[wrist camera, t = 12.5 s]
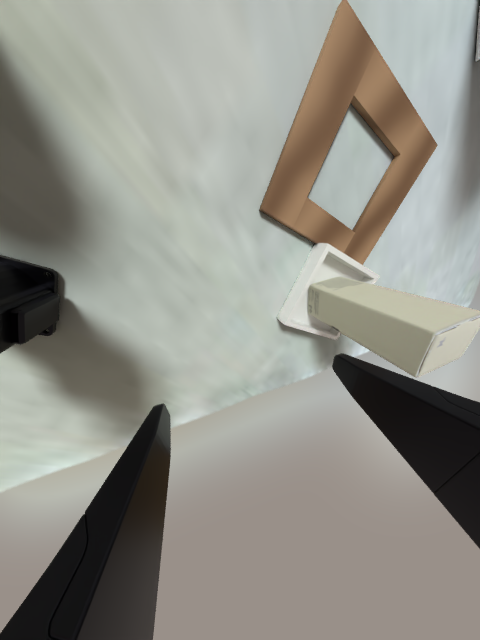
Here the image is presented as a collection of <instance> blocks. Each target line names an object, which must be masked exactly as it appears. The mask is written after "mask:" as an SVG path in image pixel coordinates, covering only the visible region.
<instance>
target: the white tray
mask: <svg viewBox="0 0 480 640" xmlns="http://www.w3.org/2000/svg"><path fill="white" fill-rule="evenodd" d="M335 277H344V278H348V279H352V280H356V281H360V282H365V283H369V284H373V285H374V284H375V283H376V281H377V280H378V278H379V277H380V276H379V275H377V274H376V273H374V272H373V271H371V270H370V269H368V268H366V267H365V266H363V265H362V264H360V263H358V262H357V261H355V260H354V259H352V258H350V257H349V256H347V255H346V254H344V253H342V252H341V251H339V250H338V249H336V248H334V247H333V246H331V245H330V244H328V243H318V244H314V246H313V248H312V250H311V252H310V254H309V256H308V258H307V260H306V262H305V264H304V266H303V267H302V269H301V271H300V273H299V275H298V277H297V279H296V281H295V283H294V285H293V287H292V289H291V291H290V293H289V295H288V297H287V299H286V301H285V302H284V304H283V306H282V308H281V310H280V312H279V314H278V316H277V319H278V320H280V321H281V322H282V323H283V324H284V325H287V326H290V327H293V328H297V329H300V330H304V331H307V332H310V333H314V334H317V335H321V336H324V337H327V338H331V339H334V340H337V339H338V338H339V336H340V335H341V333H340V332H339V331H337V330H335V329H334V328H332V327H330V326H329V325H327V324H325V323H323V322H322V321H320V320H319V319H317V318H315V317H313V316H312V315H310V314H309V313H308V296H309V286H310V285H311V284H313V283H317V282H320V281H324V280H327V279H331V278H335Z"/></svg>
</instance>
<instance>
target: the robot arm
mask: <svg viewBox="0 0 480 640" xmlns="http://www.w3.org/2000/svg"><path fill="white" fill-rule="evenodd" d="M46 272H48V273H50V274H51V277H49V276H47V274H46ZM57 287H58V274H57V273H56V271H54V270H53V269H50V268H47V267H43V266H39V265H36V264H32V263H28V262H25V261H21V260H17V259H14V258H10V257H6V256H2V255H0V353H2V352H3V351H5V350H6V349H8V348H10V347H11V346H13V345H14V344H19V345H21V344H24V343H26V342H27V341H29V340H30V339H32V338H33V337H35V336H36V335H44V336H50V335H52V334H53V333H54V332H55V330H56V322H57V321H58V320H59V305H60V297H59V295H58V294H57ZM45 329H48V330H49V332H48V331H46V330H45ZM332 367H333V370H334V372H335V373H336V375H337V376H338V377H339V379H340V380H341V382H342V383H343V385H344V386H345V387H346V389H347V390H348V392H349V393H350V394H351V396H352V397H353V398H354V399H355V400H356V402H357V403H358V404H359V405H360V407H361V408H362V409H363V410H364V411H365V412H366V414H367V415H368V416H369V417H370V418H371V420H372V421H373V422H374V423H375V424H376V425H377V427H378V428H379V429H380V430H381V432H383V434H384V435H385V436H386V437H387V439H388V440H389V441H390V442H391V443H392V445H393V446H394V447H395V448H396V449H397V451H398V452H399V453H400V454H401V455H402V457H403V458H404V459H405V460H406V461H407V462H408V464H409V465H410V466H411V467H412V468H413V470H414V471H415V472H416V473H417V474H418V476H419V477H420V478H421V479H422V480H423V482H424V483H425V484H426V485H427V486H428V487H429V488H430V490H431V491H432V492H433V493H434V495H435V496H436V497H437V498H438V500H439V501H440V502H441V503H442V504H443V505H444V507H445V508H446V509H447V510H448V512H449V513H450V514H451V515H452V516H453V517H454V519H455V520H456V521H457V522H458V523H459V525H460V526H461V527H462V528H463V529H464V530H465V532H466V533H467V534H468V535H469V536H470V538H471V539H472V540H473V541H474V543H475V544H476V545H477V546H478V547H479V548H480V402H477V401H473V400H470V399H467V398H464V397H461V396H458V395H456V394H452V393H450V392H447V391H444V390H442V389H439V388H436V387H432V386H431V385H428V384H425V383H422V382H419V381H417V380H414V379H411V378H409V377H406V376H403V375H401V374H398V373H395V372H392V371H390V370H387V369H384V368H381V367H379V366H376V365H373V364H370V363H368V362H365V361H362V360H359V359H357V358H354V357H351V356H349V355H346V354H338V355H335V357H334V361H333V365H332ZM170 450H171V448H170V414H169V412H168V410H167V408H166V406H165V404H159V405H156V406H154V407H153V408H152V410H151V411H150V413H149V415H148V416H147V418H146V419H145V421H144V422H143V424H142V425H141V427H140V428H139V430H138V431H137V433H136V434H135V436H134V437H133V439H132V441H131V442H130V444H129V445H128V447H127V449H126V450H125V452H124V453H123V454H122V456H121V457H120V459H119V460H118V462H117V464H116V465H115V467H114V468H113V470H112V471H111V473H110V474H109V476H108V477H107V479H106V480H105V482H104V484H103V485H102V486H101V488H100V490H99V491H98V493H97V494H96V496H95V497H94V499H93V500H92V502H91V503H90V505H89V506H88V508H87V510H86V511H85V514H84V515H83V516H82V517H81V518H80V520H79V522H78V523H77V525H76V526H75V528H74V529H73V531H72V532H71V534H70V535H69V537H68V538H67V540H66V541H65V543H64V544H63V546H62V547H61V549H60V550H59V552H58V553H57V555H56V556H55V558H54V559H53V560H52V562H51V563H50V565H49V566H48V568H47V569H46V571H45V572H44V573H43V575H42V576H41V578H40V579H39V580H38V582H37V583H36V585H35V586H34V587H33V589H32V590H31V592H30V593H29V595H28V596H27V597H26V599H25V600H24V602H23V603H22V604H21V606H20V607H19V608H18V610H17V611H16V613H15V614H14V615H13V617H12V618H11V619H10V621H9V622H8V624H7V625H6V626H5V628H4V629H3V630H2V632H1V633H0V640H153V632H154V622H155V612H156V601H157V591H158V581H159V571H160V560H161V550H162V540H163V528H164V518H165V509H166V508H165V507H166V499H167V488H168V478H169V477H168V476H169V468H170Z"/></svg>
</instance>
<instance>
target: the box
mask: <svg viewBox="0 0 480 640" xmlns="http://www.w3.org/2000/svg"><path fill="white" fill-rule="evenodd" d="M308 313H309V314H310V315H312V316H313V317H315V318H317V319H319V320H320V321H322V322H323V323H325V324H327V325H329V326H330V327H332V328H334V329H335V330H337V331H339V332H340V333H342V334H344V335H345V336H347V337H349V338H350V339H352V340H354V341H355V342H357V343H359V344H360V345H362V346H364V347H365V348H367V349H369V350H370V351H372V352H374V353H375V354H377V355H379V356H380V357H382V358H384V359H385V360H387V361H389V362H390V363H392V364H394V365H396V366H397V367H399V368H400V369H402V370H404V371H405V372H407V373H409V374H411V375H412V376H414V377H416V378H417V377H420V376H422V375H424V374H426V373H428V372H431V371H433V370H435V369H437V368H440V367H442V366H444V365H446V364H448V363H450V362H452V361H454V360H456V359H459V358H460V357H461V356H462V355H463V354H464V352H465V350H466V349H467V347H468V346H469V344H470V343H471V341H472V339H473V338H474V336H475V335H476V333H477V332H478V330H479V329H480V311H478V310H474V309H470V308H466V307H462V306H458V305H454V304H450V303H446V302H442V301H438V300H434V299H430V298H426V297H422V296H418V295H414V294H409V293H405V292H401V291H397V290H393V289H389V288H385V287H381V286H377V285H373V284H369V283H365V282H360V281H356V280H352V279H348V278H344V277H335V278H331V279H327V280H324V281H320V282H317V283H313V284H311V285H310V286H309V296H308Z"/></svg>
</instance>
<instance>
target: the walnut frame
mask: <svg viewBox="0 0 480 640" xmlns="http://www.w3.org/2000/svg"><path fill="white" fill-rule="evenodd" d="M350 103H351V104H352V105H353V106H354V108H355V109H356V110H357V111H358V112H359V114H360V115H361V116H362V117H363V119H364V120H365V121H366V122H367V123H368V125H369V126H370V127H371V128H372V130H373V131H374V132H375V133H376V134H377V136H378V137H379V138H380V139H381V141H382V142H383V143H384V144H385V146H386V147H387V148H388V149H389V150H390V152H391V153H392V154H393V155H394V158H393V160H392V162H391V164H390V165H389V167H388V169H387V171H386V172H385V174H384V176H383V178H382V179H381V181H380V183H379V185H378V186H377V188H376V190H375V192H374V193H373V195H372V197H371V199H370V200H369V202H368V204H367V206H366V207H365V209H364V211H363V213H362V215H361V216H360V218H359V220H358V222H357V223H356V225H355V227H354V229H353V230H351V229H349V228H348V227H347V226H345V225H344V224H343V223H341V222H340V221H338V220H337V219H336V218H334V217H333V216H332V215H330V214H329V213H328V212H326V211H325V210H324V209H322V208H321V207H319V206H318V205H317V204H315V203H314V202H313V201H311V200H310V199H309V198H307V196H308V194H309V192H310V190H311V187H312V185H313V183H314V181H315V179H316V177H317V174H318V172H319V170H320V168H321V166H322V164H323V161H324V159H325V157H326V155H327V153H328V151H329V148H330V146H331V144H332V142H333V140H334V138H335V135H336V133H337V131H338V129H339V127H340V125H341V122H342V120H343V118H344V116H345V114H346V112H347V109H348V107H349V105H350ZM436 147H437V143H436V142H435V140H434V139H433V137H432V135H431V134H430V132H429V131H428V129H427V128H426V126H425V124H424V123H423V121H422V120H421V118H420V116H419V115H418V113H417V112H416V110H415V108H414V107H413V105H412V104H411V102H410V100H409V99H408V97H407V96H406V94H405V92H404V91H403V89H402V88H401V86H400V84H399V83H398V81H397V80H396V78H395V76H394V75H393V73H392V72H391V70H390V68H389V67H388V65H387V64H386V62H385V60H384V59H383V57H382V56H381V54H380V52H379V51H378V49H377V48H376V46H375V44H374V43H373V41H372V40H371V38H370V36H369V35H368V33H367V32H366V30H365V29H364V27H363V25H362V24H361V22H360V21H359V19H358V17H357V16H356V14H355V13H354V11H353V9H352V8H351V6H350V5H349V3H348V1H347V0H342V2H341V3H340V5H339V6H338V8H337V11H336V13H335V16H334V18H333V21H332V24H331V26H330V29H329V31H328V34H327V37H326V39H325V42H324V44H323V47H322V49H321V52H320V55H319V57H318V60H317V62H316V65H315V67H314V70H313V73H312V75H311V78H310V80H309V83H308V85H307V88H306V91H305V93H304V96H303V98H302V101H301V103H300V106H299V109H298V111H297V114H296V116H295V119H294V122H293V124H292V127H291V129H290V132H289V134H288V137H287V140H286V142H285V145H284V147H283V150H282V152H281V155H280V158H279V160H278V163H277V165H276V168H275V170H274V173H273V176H272V178H271V181H270V183H269V186H268V188H267V191H266V194H265V196H264V199H263V201H262V204H261V207H260V209H259V210H260V211H262V212H263V213H265V214H267V215H268V216H270V217H272V218H273V219H275V220H277V221H278V222H280V223H282V224H283V225H285V226H287V227H288V228H290V229H292V230H293V231H295V232H297V233H298V234H300V235H302V236H303V237H305V238H307V239H308V240H310V241H312V242H313V243H315V244H318V243H328V244H330V245H331V246H333V247H334V248H336V249H338V250H339V251H341V252H342V253H344V254H346V255H347V256H349V257H350V258H352V259H354V260H355V261H357V262H358V263H360V264H362V265H363V263H364V262H365V260H366V259H367V257H368V256H369V254H370V252H371V251H372V249H373V248H374V246H375V244H376V243H377V241H378V240H379V238H380V236H381V235H382V233H383V232H384V230H385V228H386V227H387V225H388V224H389V222H390V220H391V219H392V217H393V216H394V214H395V212H396V211H397V209H398V208H399V206H400V204H401V203H402V201H403V200H404V198H405V196H406V195H407V193H408V192H409V190H410V188H411V187H412V185H413V184H414V182H415V180H416V179H417V177H418V176H419V174H420V173H421V171H422V169H423V168H424V166H425V165H426V163H427V161H428V160H429V158H430V157H431V155H432V153H433V152H434V150H435V149H436Z"/></svg>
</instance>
